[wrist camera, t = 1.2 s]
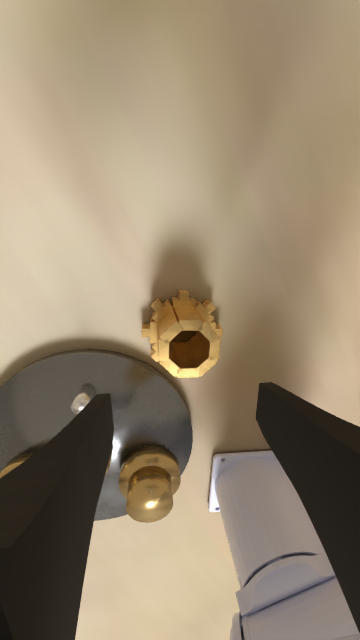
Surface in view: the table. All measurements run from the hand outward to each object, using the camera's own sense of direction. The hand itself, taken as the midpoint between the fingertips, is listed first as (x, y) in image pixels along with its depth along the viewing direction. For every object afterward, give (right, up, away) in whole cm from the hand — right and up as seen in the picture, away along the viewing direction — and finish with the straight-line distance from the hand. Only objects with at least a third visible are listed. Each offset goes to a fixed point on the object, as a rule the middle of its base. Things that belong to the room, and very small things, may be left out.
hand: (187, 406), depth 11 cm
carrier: (-9, -8, +12) cm, 16 cm away
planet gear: (0, +3, +9) cm, 10 cm away
